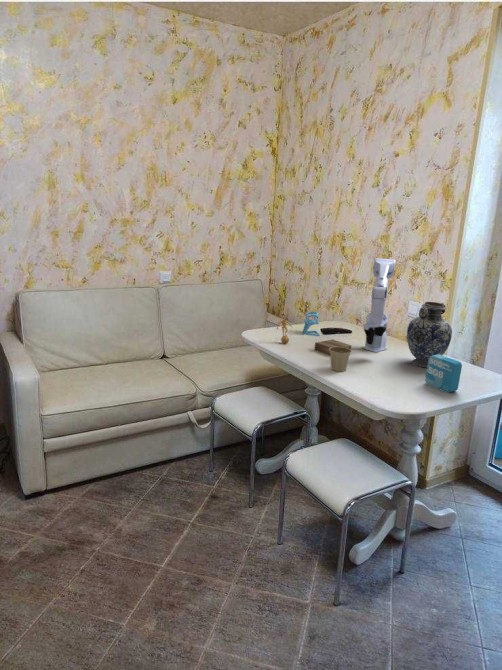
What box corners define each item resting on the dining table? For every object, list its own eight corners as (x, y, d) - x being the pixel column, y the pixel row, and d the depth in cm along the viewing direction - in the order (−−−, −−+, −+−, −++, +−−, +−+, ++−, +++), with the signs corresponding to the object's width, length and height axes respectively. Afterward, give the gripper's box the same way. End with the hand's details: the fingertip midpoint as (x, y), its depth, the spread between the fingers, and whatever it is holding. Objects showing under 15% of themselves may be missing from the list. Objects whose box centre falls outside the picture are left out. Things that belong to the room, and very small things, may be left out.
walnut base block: (331, 347, 236) (332, 339, 235) (350, 353, 227) (351, 345, 226) (314, 350, 229) (315, 342, 228) (333, 357, 220) (334, 349, 219)
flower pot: (322, 366, 205) (324, 347, 203) (341, 364, 209) (343, 345, 206) (334, 374, 197) (336, 353, 194) (353, 372, 200) (356, 352, 198)
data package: (424, 383, 192) (429, 354, 188) (432, 381, 194) (436, 353, 191) (449, 393, 182) (455, 363, 179) (457, 392, 184) (462, 362, 181)
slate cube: (371, 344, 220) (373, 334, 219) (380, 347, 216) (382, 336, 215) (365, 346, 217) (366, 335, 216) (374, 348, 213) (375, 338, 212)
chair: (301, 332, 260) (302, 310, 257) (316, 332, 261) (317, 310, 258) (304, 335, 253) (305, 313, 250) (319, 336, 254) (321, 313, 251)
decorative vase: (416, 354, 229) (425, 297, 222) (454, 365, 217) (465, 304, 209) (393, 363, 215) (402, 301, 207) (432, 375, 202) (444, 310, 195)
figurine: (278, 345, 233) (280, 321, 230) (273, 341, 238) (275, 318, 235) (294, 344, 236) (296, 320, 233) (289, 340, 241) (290, 317, 238)
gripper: (374, 317, 205) (370, 347, 209) (394, 313, 214) (390, 343, 218) (361, 313, 210) (357, 343, 214) (381, 310, 219) (377, 339, 223)
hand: (373, 343), depth 216 cm, fingers closed on slate cube, 5 cm apart
